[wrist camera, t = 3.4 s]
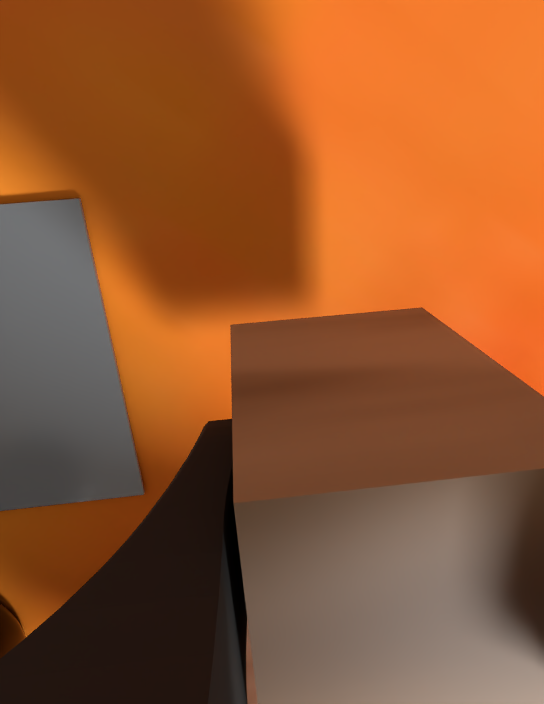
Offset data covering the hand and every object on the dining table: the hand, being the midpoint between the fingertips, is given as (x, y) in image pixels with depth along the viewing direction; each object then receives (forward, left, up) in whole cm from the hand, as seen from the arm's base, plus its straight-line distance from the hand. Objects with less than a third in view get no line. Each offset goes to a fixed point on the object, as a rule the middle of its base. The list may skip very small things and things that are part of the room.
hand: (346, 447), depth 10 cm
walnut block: (0, 0, -2) cm, 2 cm away
